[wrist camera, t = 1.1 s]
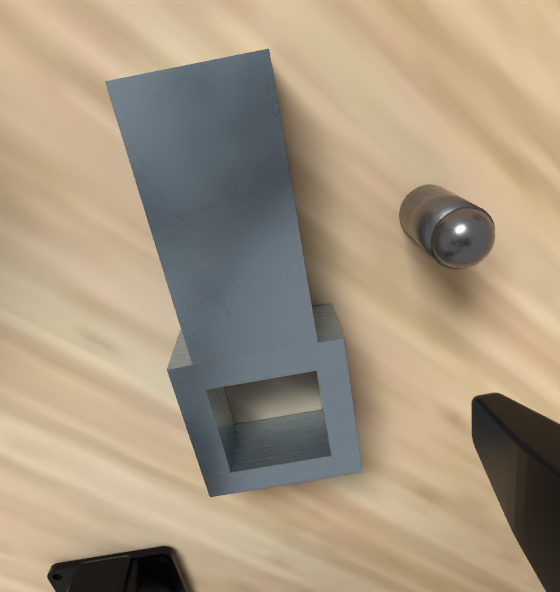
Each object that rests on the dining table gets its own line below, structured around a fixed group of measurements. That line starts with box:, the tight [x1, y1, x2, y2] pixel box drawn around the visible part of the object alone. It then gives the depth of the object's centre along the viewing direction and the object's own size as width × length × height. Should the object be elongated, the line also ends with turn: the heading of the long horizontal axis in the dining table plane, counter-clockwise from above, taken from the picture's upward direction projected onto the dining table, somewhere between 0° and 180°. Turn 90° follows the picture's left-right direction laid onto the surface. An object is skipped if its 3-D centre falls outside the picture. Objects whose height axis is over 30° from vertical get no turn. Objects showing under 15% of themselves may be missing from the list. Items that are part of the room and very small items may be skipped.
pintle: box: [399, 185, 495, 269], centre depth 15 cm, size 2×2×4 cm
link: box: [105, 49, 362, 497], centre depth 16 cm, size 15×6×3 cm, turn 10°
